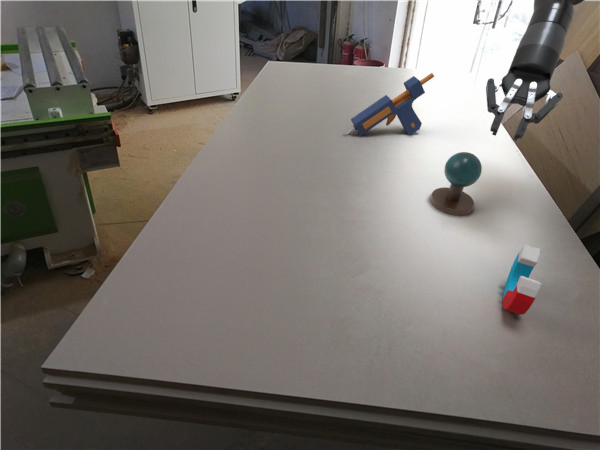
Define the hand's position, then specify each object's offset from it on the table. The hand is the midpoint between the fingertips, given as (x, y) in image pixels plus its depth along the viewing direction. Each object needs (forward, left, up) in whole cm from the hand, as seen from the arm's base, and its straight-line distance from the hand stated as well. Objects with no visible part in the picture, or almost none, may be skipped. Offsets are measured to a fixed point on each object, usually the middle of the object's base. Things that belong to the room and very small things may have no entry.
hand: (505, 135), depth 76 cm
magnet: (-11, +17, -23) cm, 31 cm away
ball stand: (+6, -9, -23) cm, 26 cm away
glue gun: (+34, -37, -23) cm, 56 cm away
